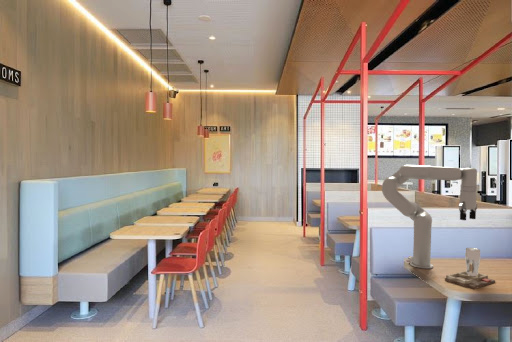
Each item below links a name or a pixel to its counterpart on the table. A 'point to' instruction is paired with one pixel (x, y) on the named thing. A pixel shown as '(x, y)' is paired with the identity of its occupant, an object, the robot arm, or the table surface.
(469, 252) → the silver piece
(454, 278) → the divided sorting tray
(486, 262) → the table surface
